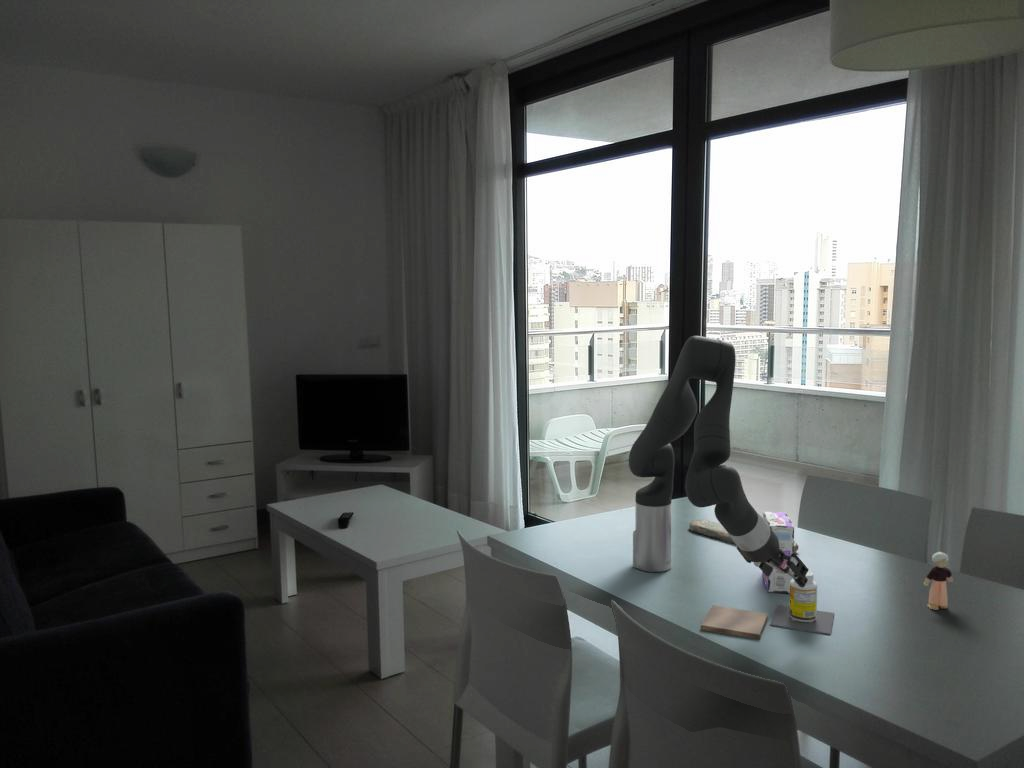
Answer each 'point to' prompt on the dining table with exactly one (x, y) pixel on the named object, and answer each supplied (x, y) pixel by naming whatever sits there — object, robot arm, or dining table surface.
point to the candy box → (786, 543)
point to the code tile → (818, 626)
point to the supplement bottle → (803, 600)
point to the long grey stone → (715, 530)
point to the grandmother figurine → (938, 582)
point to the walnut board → (735, 622)
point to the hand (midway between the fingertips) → (786, 577)
